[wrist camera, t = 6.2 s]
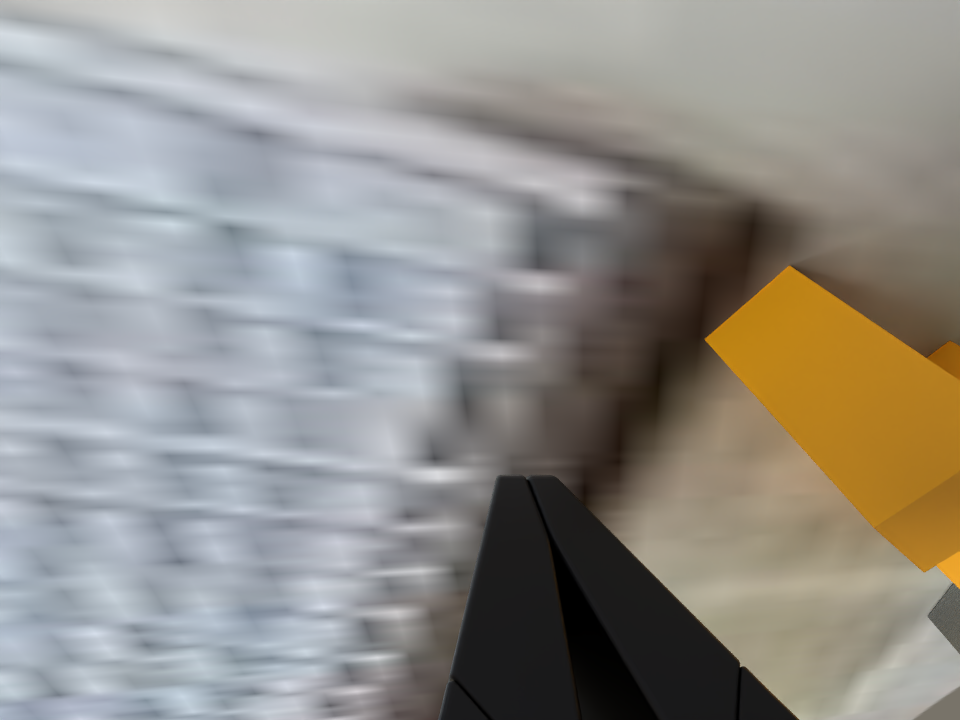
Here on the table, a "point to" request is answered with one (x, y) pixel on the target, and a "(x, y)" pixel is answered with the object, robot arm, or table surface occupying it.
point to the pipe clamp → (858, 409)
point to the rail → (948, 616)
